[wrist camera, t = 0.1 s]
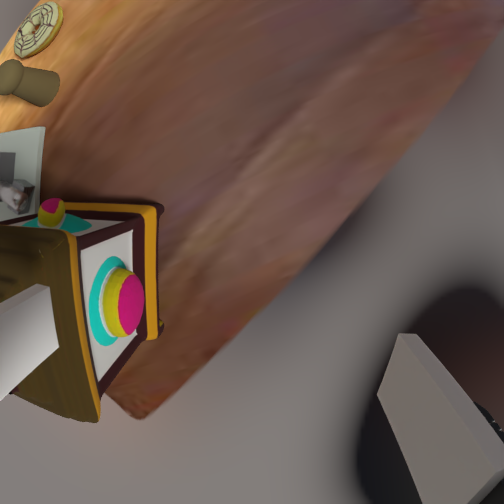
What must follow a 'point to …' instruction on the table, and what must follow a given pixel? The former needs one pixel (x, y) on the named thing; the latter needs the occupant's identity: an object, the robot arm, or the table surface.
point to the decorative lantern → (85, 294)
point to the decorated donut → (38, 29)
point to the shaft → (17, 195)
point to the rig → (21, 164)
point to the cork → (28, 82)
